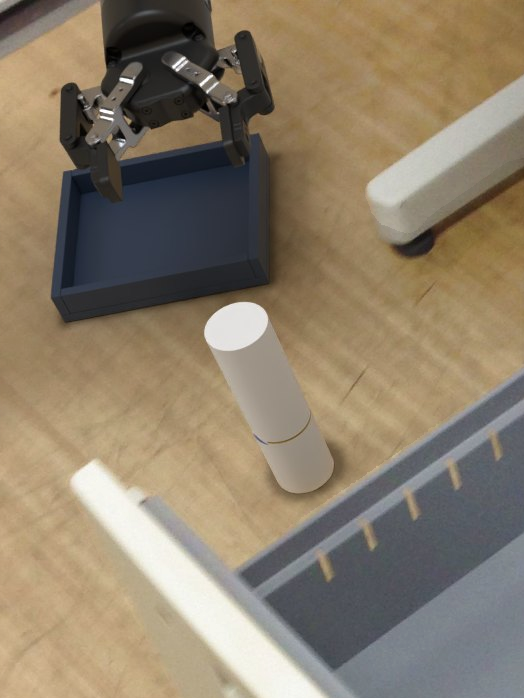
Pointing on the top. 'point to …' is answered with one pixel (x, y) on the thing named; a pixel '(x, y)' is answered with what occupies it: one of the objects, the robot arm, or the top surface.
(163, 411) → the top surface
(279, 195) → the top surface
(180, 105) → the robot arm
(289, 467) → the tube
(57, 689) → the top surface
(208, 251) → the tray
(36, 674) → the top surface
